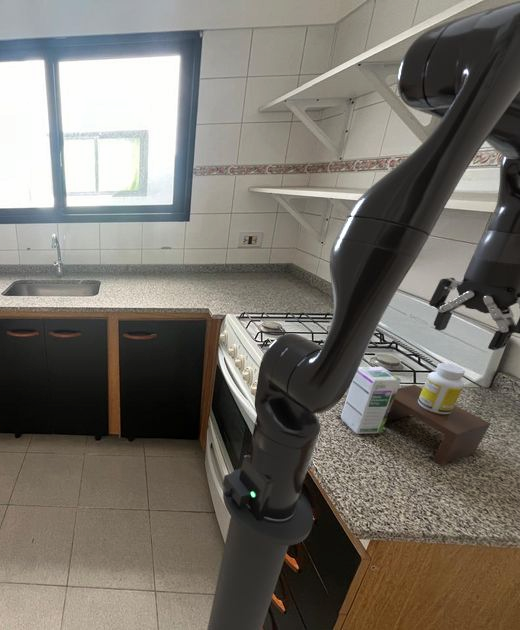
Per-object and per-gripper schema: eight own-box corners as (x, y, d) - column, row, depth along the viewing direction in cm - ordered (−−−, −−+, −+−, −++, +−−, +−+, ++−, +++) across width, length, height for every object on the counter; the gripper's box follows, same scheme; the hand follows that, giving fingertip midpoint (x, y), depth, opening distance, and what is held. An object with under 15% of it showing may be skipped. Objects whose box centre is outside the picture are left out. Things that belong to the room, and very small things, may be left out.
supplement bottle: (451, 407, 74) (470, 367, 70) (449, 419, 70) (470, 378, 66) (418, 396, 77) (435, 358, 73) (415, 407, 74) (432, 368, 70)
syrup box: (356, 434, 77) (376, 380, 72) (339, 417, 83) (356, 365, 77) (381, 434, 78) (403, 380, 72) (362, 416, 83) (381, 364, 77)
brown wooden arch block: (441, 465, 70) (457, 434, 66) (372, 420, 82) (383, 392, 79) (474, 453, 72) (491, 423, 69) (402, 411, 84) (414, 384, 81)
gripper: (441, 249, 66) (411, 326, 72) (548, 269, 53) (500, 359, 60) (468, 247, 68) (436, 321, 74) (577, 265, 55) (527, 353, 62)
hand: (465, 338), depth 67 cm, fingers open, 8 cm apart
